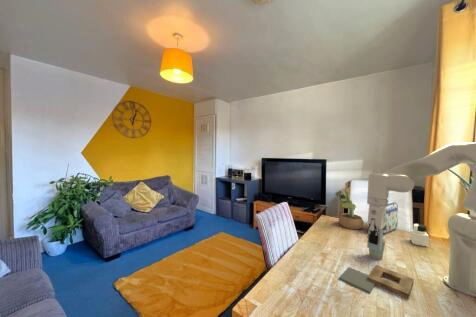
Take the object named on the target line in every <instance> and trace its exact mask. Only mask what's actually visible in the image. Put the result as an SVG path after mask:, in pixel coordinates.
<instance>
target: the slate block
mask: <svg viewBox="0 0 476 317" xmlns="http://www.w3.org/2000/svg"><path fill="white" fill-rule="evenodd" d="M374 230H375V231H376V229H374ZM369 232H370V228H369V229H367V236H368V238H367V244H366V248H368V249H369V248H371V249H374V250H377V251H380V250H381V249H382V239H383V236H384V234H383V230H379V229H378V234H377V235H378V244H377V245H375V244H372V243H369Z"/></svg>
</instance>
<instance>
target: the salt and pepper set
mask: <svg viewBox="0 0 476 317" xmlns="http://www.w3.org/2000/svg"><path fill="white" fill-rule="evenodd" d="M429 237H430V236H429V234H428V233H427V226H426V225H424V224H421V223H413V229H411V230H410V241H411V243H412V244H413V245H416V246H420V245H421V246H422V247H425V246H426V248H428V247H429V240H430V239H429Z"/></svg>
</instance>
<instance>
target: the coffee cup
mask: <svg viewBox="0 0 476 317" xmlns="http://www.w3.org/2000/svg"><path fill="white" fill-rule="evenodd" d="M366 237H367V238H366V239H368V235H367V236H366ZM386 242H387V238H386V237H385V236H384V235H383V239H382V249H381V250H380V251H377V250H374V249H371V248H368V252H369V253H368V255H369V257H370V258H372V259H374V260H376V261H377V260H378V261H381V260H383V256H384V251H385V245H386Z"/></svg>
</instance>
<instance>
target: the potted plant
mask: <svg viewBox="0 0 476 317" xmlns="http://www.w3.org/2000/svg"><path fill="white" fill-rule="evenodd" d="M345 192H346V193H345ZM334 195H335V196H336V197H340V196H341V195H343V197H344V198H341V199H340V201H341V202H342V201H343V203H342V204H341V207H343V208H344V209H348V210H349V211H348V213H346V212H345V213H341V214H340V216H339V218H338V222H339V225H341V226H342V227H344V228H346V229H350V230H361V229H362V228H364V225H365V221H364V220H363V217H362V216H360V215H358V214H354V211H355V209H356V204H354V203H353V202H352V200H351V198H350V194H349V189H348V188H346V191H344V190H342V189H339V191H337V192H336V193H335V194H334Z"/></svg>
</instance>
